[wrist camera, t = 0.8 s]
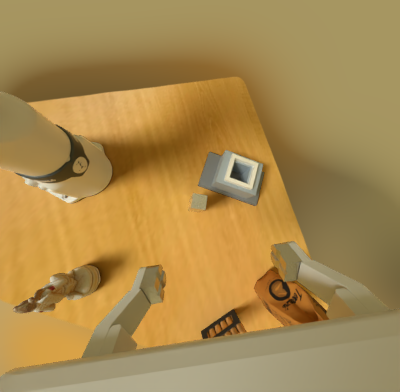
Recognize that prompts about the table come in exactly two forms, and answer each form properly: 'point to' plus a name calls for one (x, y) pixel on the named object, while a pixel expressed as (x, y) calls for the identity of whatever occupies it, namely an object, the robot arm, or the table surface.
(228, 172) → the frame
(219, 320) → the ammunition clip
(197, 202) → the shaft
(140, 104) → the table surface
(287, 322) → the coffee package
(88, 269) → the figurine
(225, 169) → the block
